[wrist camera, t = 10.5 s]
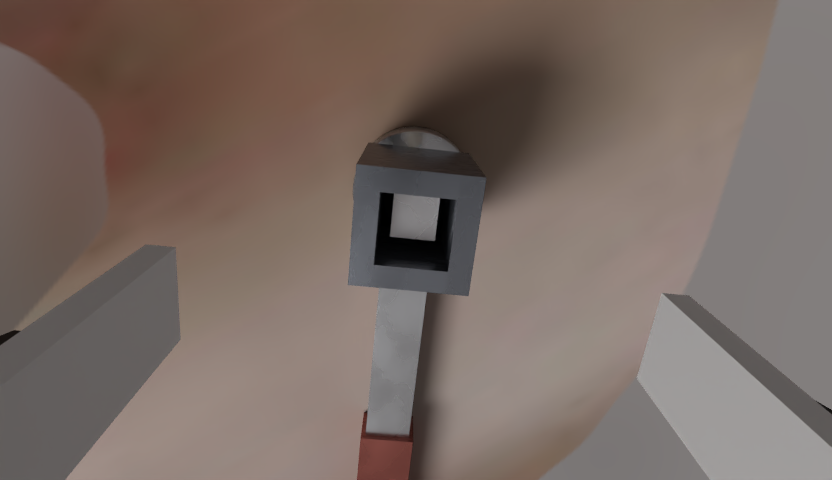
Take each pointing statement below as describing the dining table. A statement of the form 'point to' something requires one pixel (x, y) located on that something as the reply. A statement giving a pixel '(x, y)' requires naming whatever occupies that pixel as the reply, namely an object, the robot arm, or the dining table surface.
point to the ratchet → (398, 330)
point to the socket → (412, 258)
